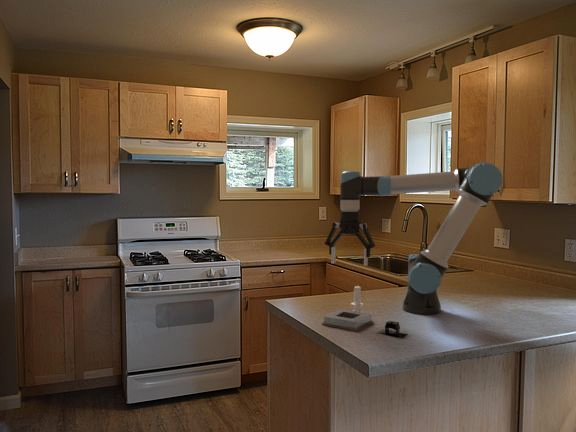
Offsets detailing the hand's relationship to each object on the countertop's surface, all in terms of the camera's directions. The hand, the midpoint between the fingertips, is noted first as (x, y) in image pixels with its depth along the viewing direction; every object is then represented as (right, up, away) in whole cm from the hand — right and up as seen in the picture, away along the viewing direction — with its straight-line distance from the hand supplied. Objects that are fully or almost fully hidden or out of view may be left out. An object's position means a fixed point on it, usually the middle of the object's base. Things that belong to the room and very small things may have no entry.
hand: (349, 264), depth 197 cm
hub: (-2, -20, -14) cm, 25 cm away
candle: (+3, -20, -3) cm, 20 cm away
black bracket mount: (+12, -22, -26) cm, 36 cm away
